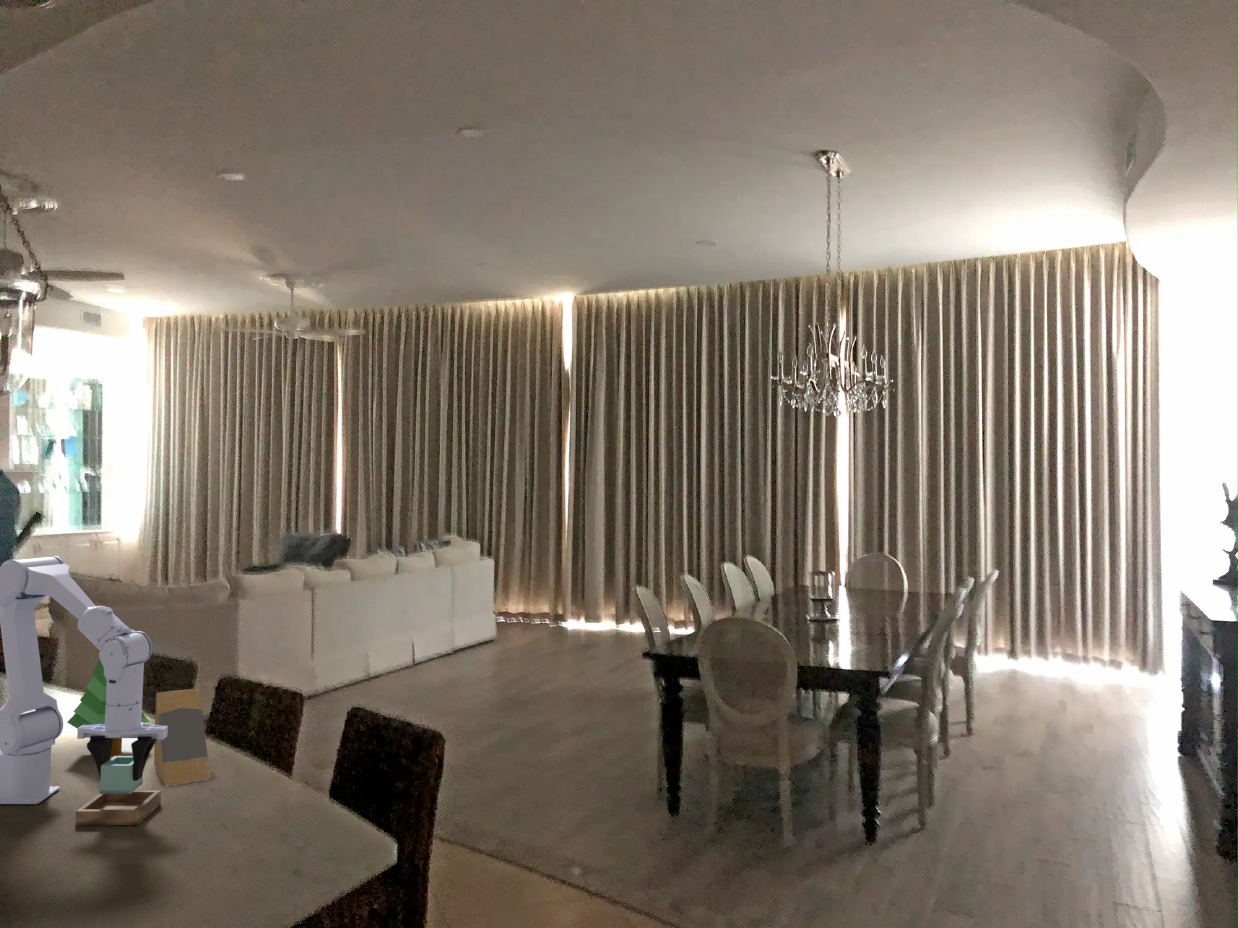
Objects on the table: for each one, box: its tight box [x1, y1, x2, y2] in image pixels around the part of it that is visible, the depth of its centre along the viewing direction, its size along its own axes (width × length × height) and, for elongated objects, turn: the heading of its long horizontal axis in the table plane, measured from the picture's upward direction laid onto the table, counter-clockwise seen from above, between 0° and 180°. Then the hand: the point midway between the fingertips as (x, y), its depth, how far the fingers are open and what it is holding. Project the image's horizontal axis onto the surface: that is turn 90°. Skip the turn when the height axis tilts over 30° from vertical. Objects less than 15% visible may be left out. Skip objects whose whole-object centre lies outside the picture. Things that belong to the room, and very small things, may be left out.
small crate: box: [99, 755, 144, 794], centre depth 159 cm, size 5×5×5 cm
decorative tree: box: [66, 613, 150, 757], centre depth 191 cm, size 14×16×30 cm
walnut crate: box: [75, 789, 162, 827], centre depth 159 cm, size 10×10×2 cm
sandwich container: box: [153, 688, 212, 786], centre depth 182 cm, size 9×15×15 cm, turn 35°
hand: (121, 778), depth 159 cm, fingers closed on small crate, 5 cm apart
